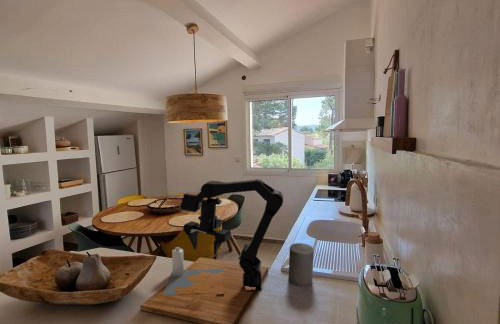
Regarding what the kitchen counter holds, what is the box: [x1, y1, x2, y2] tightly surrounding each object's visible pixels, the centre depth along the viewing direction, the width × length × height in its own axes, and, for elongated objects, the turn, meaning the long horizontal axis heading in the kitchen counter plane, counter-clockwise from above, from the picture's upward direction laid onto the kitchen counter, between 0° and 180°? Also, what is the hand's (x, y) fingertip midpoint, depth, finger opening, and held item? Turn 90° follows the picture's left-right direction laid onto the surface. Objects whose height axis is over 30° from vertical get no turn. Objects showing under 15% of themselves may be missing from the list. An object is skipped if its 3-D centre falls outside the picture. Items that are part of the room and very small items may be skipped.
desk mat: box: [163, 268, 225, 296], centre depth 109 cm, size 22×18×1 cm
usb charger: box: [171, 246, 185, 277], centre depth 113 cm, size 4×4×11 cm
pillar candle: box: [288, 242, 315, 287], centre depth 111 cm, size 10×10×15 cm
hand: (205, 252), depth 108 cm, fingers open, 9 cm apart
